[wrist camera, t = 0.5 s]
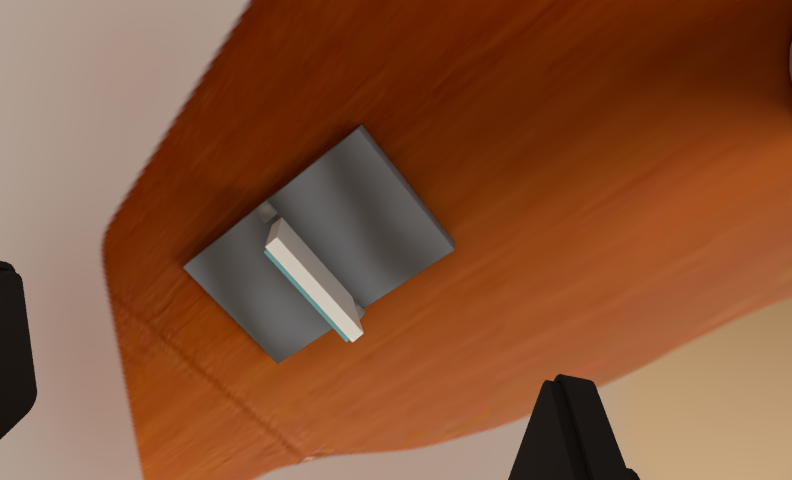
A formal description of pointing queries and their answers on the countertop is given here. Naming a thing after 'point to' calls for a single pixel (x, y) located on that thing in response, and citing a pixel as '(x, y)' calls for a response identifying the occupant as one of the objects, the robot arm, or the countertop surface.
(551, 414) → the robot arm
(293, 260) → the tile
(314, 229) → the board
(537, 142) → the countertop surface
